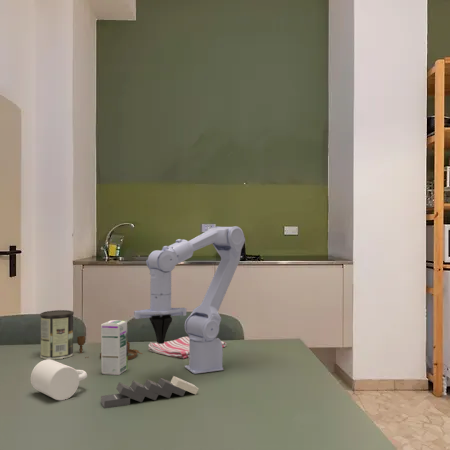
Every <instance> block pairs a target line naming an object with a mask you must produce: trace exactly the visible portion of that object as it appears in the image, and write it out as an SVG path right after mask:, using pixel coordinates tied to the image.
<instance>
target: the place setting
mask: <svg viewBox="0 0 450 450" xmlns="http://www.w3.org/2000/svg"><path fill="white" fill-rule="evenodd" d="M76 338H77V339H76V340H77V342H76V343H77V345H78V346H79V354H83V353H84V352H83V350H84V349H83V346H84V344H85V343H86V336H85V335H81V336H77V337H76ZM130 345H131V344H130V342H129V341H127V361H128V360H133V359H135V358H136V357H138V354H140V355H143V353H142V352H140V350H138V349H132V348H131V347H130ZM130 348H131V349H130ZM128 354H130V355H128ZM99 357H100V358H101V352H100V353H99ZM84 358H85V359H86V358H87V359H88V356H84Z"/></svg>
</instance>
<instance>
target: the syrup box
mask: <svg viewBox="0 0 450 450" xmlns="http://www.w3.org/2000/svg"><path fill="white" fill-rule="evenodd" d="M127 342H128V320H122V319H115V320H114V319H113V320H109V321H106V322H104V323H101V325H100V344H101V346H100V347H101V348H100V349H101V351H100V353H101V357H100V359H101V367H100V369H101V370H100V371H101V374H103V375H113V376H120V375H121V374H123V373H124V372H126V371H127V370H128V367H129V365H128V360H127V356H128V354H127Z"/></svg>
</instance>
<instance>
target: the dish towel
mask: <svg viewBox="0 0 450 450" xmlns="http://www.w3.org/2000/svg"><path fill="white" fill-rule="evenodd" d="M189 340H190V338H188V336H182V337H179V338H177V339H174V340H173V339H172V340H168V341H164V344H158V343H157V342H151V341H150V342H149V344H148V351H149V352H152V353H156V354H158V355H159V354H160V355H164V356H168V357H171V358H178V359H181V360H184V359H187V358H188V359H189ZM221 343H222V348H223V349H224V348H225V347H226V346H227V343H226V341H222V340H221Z"/></svg>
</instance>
